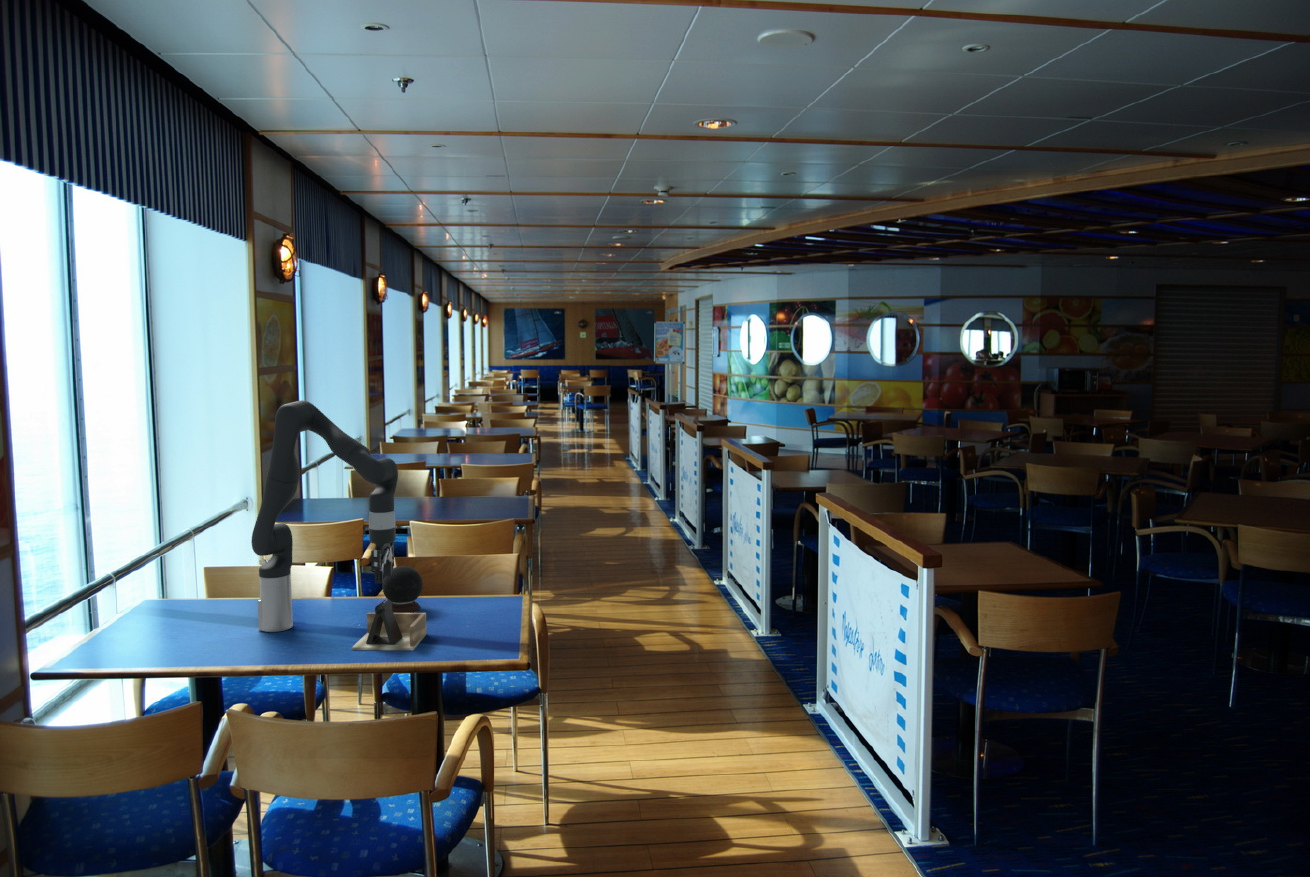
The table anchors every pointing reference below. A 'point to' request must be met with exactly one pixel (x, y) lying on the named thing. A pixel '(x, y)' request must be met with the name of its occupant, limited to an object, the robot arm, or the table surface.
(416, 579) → the stone ball on stand
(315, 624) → the table surface
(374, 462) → the robot arm
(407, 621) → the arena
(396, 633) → the phone stand
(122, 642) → the table surface
